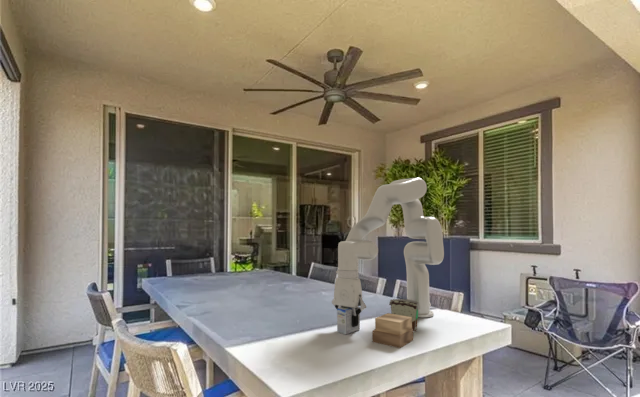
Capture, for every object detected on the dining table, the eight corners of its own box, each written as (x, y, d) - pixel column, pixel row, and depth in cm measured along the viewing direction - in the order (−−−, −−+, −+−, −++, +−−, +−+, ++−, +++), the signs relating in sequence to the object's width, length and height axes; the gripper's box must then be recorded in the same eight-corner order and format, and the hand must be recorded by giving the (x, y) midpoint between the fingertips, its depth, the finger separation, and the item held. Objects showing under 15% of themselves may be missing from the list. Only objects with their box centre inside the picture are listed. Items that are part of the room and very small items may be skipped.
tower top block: (388, 324, 127) (388, 313, 128) (412, 329, 122) (411, 317, 122) (375, 330, 120) (375, 318, 121) (400, 335, 115) (399, 322, 115)
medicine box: (351, 327, 136) (350, 304, 137) (360, 330, 133) (359, 306, 133) (336, 332, 130) (336, 307, 131) (346, 334, 127) (345, 309, 128)
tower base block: (386, 335, 127) (386, 324, 128) (413, 341, 121) (413, 329, 121) (372, 342, 120) (372, 330, 120) (400, 349, 113) (399, 336, 114)
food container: (426, 329, 134) (426, 301, 135) (418, 332, 130) (418, 304, 131) (397, 323, 143) (397, 297, 144) (389, 326, 138) (389, 299, 139)
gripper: (323, 273, 135) (324, 323, 134) (362, 277, 125) (363, 331, 124) (335, 271, 141) (335, 319, 140) (373, 275, 131) (374, 326, 129)
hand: (348, 324), depth 132 cm, fingers closed on medicine box, 4 cm apart
